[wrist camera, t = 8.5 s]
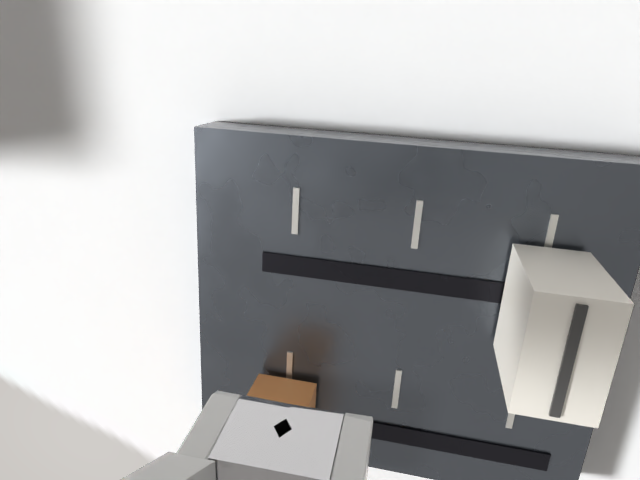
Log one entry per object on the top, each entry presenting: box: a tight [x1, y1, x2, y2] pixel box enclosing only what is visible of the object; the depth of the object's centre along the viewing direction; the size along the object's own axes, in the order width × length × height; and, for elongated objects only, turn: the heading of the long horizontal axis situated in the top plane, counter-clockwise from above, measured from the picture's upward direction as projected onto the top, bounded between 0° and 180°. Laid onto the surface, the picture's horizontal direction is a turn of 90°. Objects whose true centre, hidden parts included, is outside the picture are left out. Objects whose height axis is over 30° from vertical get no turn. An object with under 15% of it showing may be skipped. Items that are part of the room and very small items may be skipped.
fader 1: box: [246, 374, 317, 408], centre depth 20 cm, size 4×2×4 cm, turn 177°
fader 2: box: [493, 243, 634, 428], centre depth 16 cm, size 4×2×4 cm, turn 177°
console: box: [194, 121, 640, 480], centre depth 21 cm, size 14×16×2 cm
